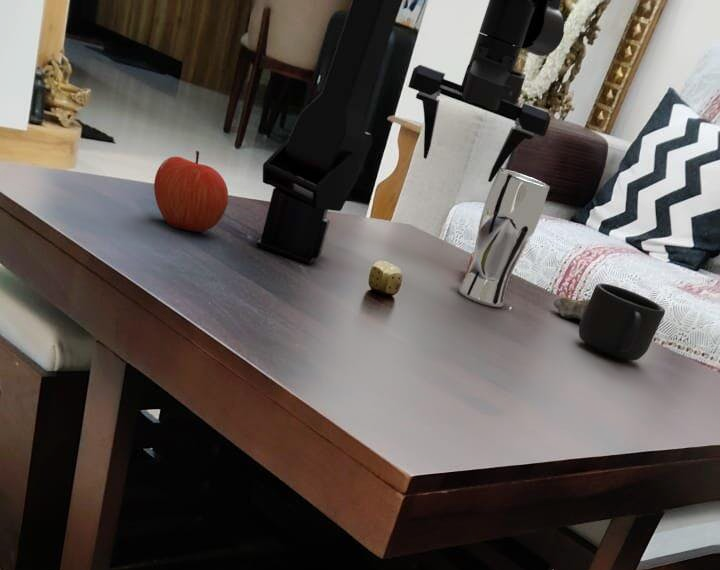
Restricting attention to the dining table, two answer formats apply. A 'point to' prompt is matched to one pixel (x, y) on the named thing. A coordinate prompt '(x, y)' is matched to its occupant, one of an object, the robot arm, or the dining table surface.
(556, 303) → the rock
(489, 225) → the silver metal vase
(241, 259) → the dining table surface
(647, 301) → the mug
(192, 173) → the apple
